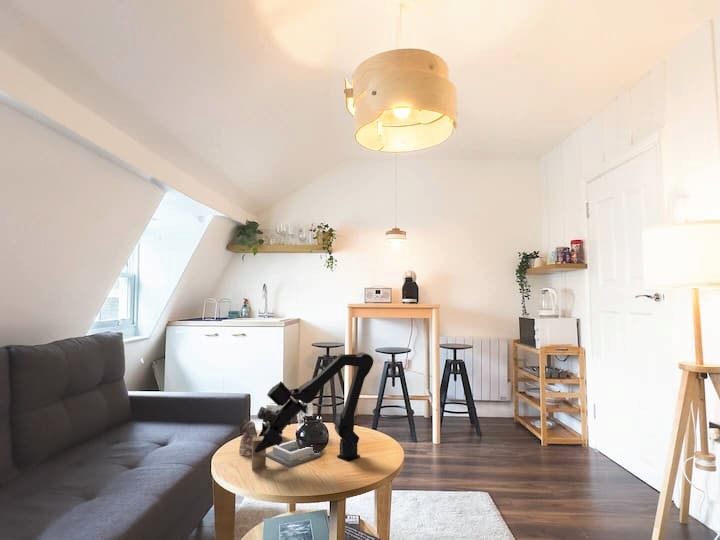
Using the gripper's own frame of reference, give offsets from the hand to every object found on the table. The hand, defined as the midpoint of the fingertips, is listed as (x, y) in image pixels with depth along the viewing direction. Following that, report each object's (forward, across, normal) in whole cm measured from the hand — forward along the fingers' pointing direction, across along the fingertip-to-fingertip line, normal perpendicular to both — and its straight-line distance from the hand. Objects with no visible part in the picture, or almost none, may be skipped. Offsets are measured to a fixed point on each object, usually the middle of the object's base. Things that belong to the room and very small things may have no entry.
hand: (254, 448), depth 144 cm
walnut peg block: (+4, 0, +6) cm, 7 cm away
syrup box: (-2, -31, +12) cm, 33 cm away
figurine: (+6, -16, +4) cm, 17 cm away
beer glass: (-11, -30, +21) cm, 38 cm away
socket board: (-6, -7, +15) cm, 18 cm away
